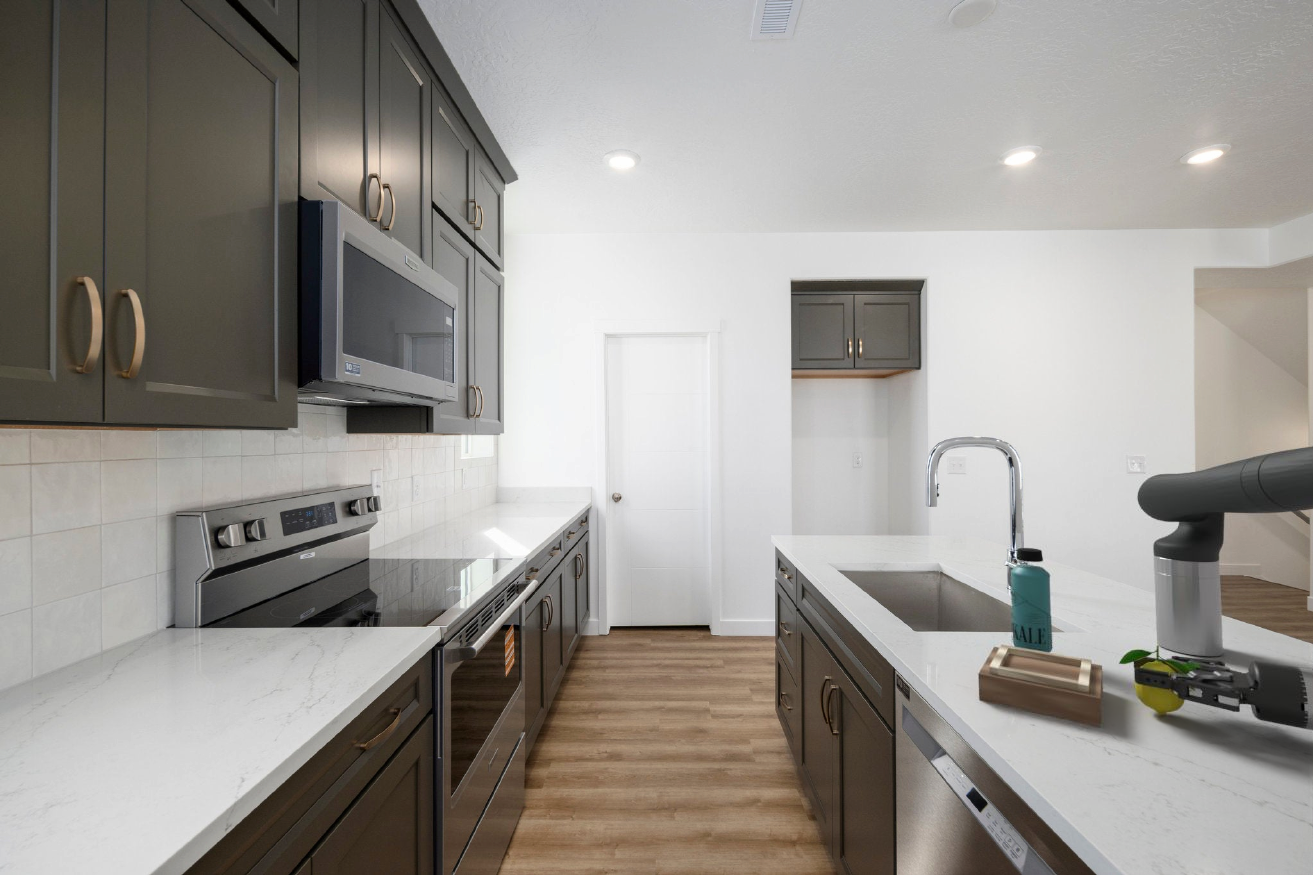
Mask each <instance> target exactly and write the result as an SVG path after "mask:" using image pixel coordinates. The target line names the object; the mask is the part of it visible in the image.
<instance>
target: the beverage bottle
mask: <svg viewBox="0 0 1313 875" xmlns="http://www.w3.org/2000/svg"><path fill="white" fill-rule="evenodd" d="M1016 560H1018V561H1021V562H1029V563H1030V562H1031V563H1040V562H1041V563H1042V562H1044V557H1043V551H1042V549H1040V548H1039V549H1038V548H1033V547H1020V548H1017V550H1016ZM1010 575H1011V577H1010V578H1011V579H1010V580H1011V581H1010V587H1011V588H1010V595H1011V596H1010V600H1011V612H1010V613H1011V631H1012V636H1011V638H1012V640H1011V641H1012V643H1013V647H1019V648H1025V649H1031V650H1037V651H1043V652H1048V653H1052V651H1053V647H1054V646H1053V645H1054V643H1053V642H1054V641H1053V637H1054V636H1053V627H1052V626H1053V625H1052V624H1053V623H1052V609H1051V606H1052V605H1051V574H1050V573H1049V571H1048V570H1046V569H1045V568H1044V567H1042V566H1040V565H1039V566H1038V565H1035V564H1034V565H1031V564H1018V565H1016V566H1015V567H1013V568H1012V569H1011V570H1010Z"/></svg>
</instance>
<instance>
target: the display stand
mask: <svg viewBox="0 0 1313 875" xmlns="http://www.w3.org/2000/svg"><path fill="white" fill-rule="evenodd" d="M977 675H978V677H977V678H978V700H980V701H983V702H986V703H987V702H988V703H992V704H996V705H1001V706H1005V707H1010V708H1013V709H1017V710H1018V709H1019V710H1023V711H1028V712H1032V713H1035V714H1036V713H1037V714H1040V715H1044V716H1049V717H1054V718H1058V719H1062V720H1067V721H1070V722H1071V721H1072V722H1075V723H1081V724H1085V725H1088V726H1092V727H1098V728H1102V720H1103V719H1102V718H1103V717H1102V716H1103V715H1102V714H1103V698H1104V695H1103V694H1104V684H1103V682H1104V681H1103V665H1102V664H1096V663H1092V659H1088V658H1082V657H1077V656H1071V655H1065V654H1059V653H1053V652H1049V653H1048V652H1043V651H1037V650H1031V649H1025V648H1019V647H1015V646H1014V645H1013V646H1012V645H1007V644H1001V645H1000V646H998V647H997V646H993V647H992V649H991V651H990V654H988V657H987V658H986V660H985V662H984V663H983V665H982V666H981V669H980V670H979V672H978V673H977Z"/></svg>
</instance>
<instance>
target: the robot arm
mask: <svg viewBox="0 0 1313 875" xmlns="http://www.w3.org/2000/svg"><path fill="white" fill-rule="evenodd" d="M1136 498H1137V499H1136V500H1137V503H1138V505H1139V507H1140V510H1142V511H1143V512H1144V513H1145V514H1146V515H1147V516H1149V517H1150V518H1152V519H1154V520H1157V521H1160V522H1166V523H1178V526H1177V528H1176V529H1175V530H1174V531H1172V533H1170V534H1168V535H1166V536H1163V537H1161V538H1158V539H1156V540H1155V541H1154V542H1153V545H1152V546H1153V547H1152V548H1153V552H1152V553H1153V570H1154V571H1153V572H1154V592H1155V593H1154V596H1155V599H1154V600H1155V621H1156V622H1155V625H1156V627H1155V628H1156V643H1157V645H1158V646H1160V647H1162V648H1163V649H1166V650H1170V651H1174V652H1175V653H1176V652H1177V653H1180V654H1187V655H1192V656H1193V655H1194V656H1201V657H1220V656H1222V655H1223V654H1224V646H1223V642H1224V641H1223V620H1222V619H1223V618H1222V615H1223V614H1222V613H1223V612H1222V595H1221V594H1222V593H1221V591H1222V590H1221V575H1220V552H1221V549H1222V547H1223V545H1224V541H1225V540H1224V538H1225V536H1224V535H1225V514H1227V513H1228V514H1275V513H1276V514H1277V513H1288V512H1290V513H1291V512H1298V511H1299V512H1301V511H1308V510H1313V445H1312V446H1307V447H1300V448H1299V447H1298V448H1292V449H1287V450H1281V451H1280V450H1279V451H1275V452H1270V453H1265V454H1261V455H1256V456H1253V457H1248V458H1245V459H1239V460H1236V461H1231V462H1228V463H1224V464H1220V465H1216V466H1213V467H1210V468H1206V469H1202V470H1198V471H1197V470H1196V471H1190V472H1183V473H1161V474H1159V473H1158V474H1155V475H1153V476H1150V477H1148V478H1147V479H1146V480H1145V481H1143V483H1141V486H1140V487H1139V489H1138V491H1137V496H1136ZM1163 659H1164V658H1163ZM1163 659H1161V658H1159V661H1161V662H1162V663H1163V664H1166V665H1168V664H1167V663H1166V662H1165V661H1164V660H1163ZM1156 660H1157V657H1151V656H1150V657H1149V656H1147V657H1145V658H1142V659H1139V660H1137V661H1134V662H1133V670H1134V671H1133V672H1134V674H1133V675H1134V677H1133V678H1134V683H1135V682H1136V683H1137V684H1140V685H1146V686H1151V687H1156V688H1162V689H1167V690H1169V689H1171V692H1172V693H1175V694H1178V698H1180V699H1183V700H1185V701H1189V702H1192V703H1197V704H1201V705H1206V706H1209V707H1213V708H1218V709H1222V710H1227V711H1230V712H1232V713H1233V712H1234V713H1239V712H1240V711H1241V710H1240V709H1241V707H1240V706H1241V705H1247V706H1248V705H1249V706H1250V708H1251V712H1252V715H1253V716H1254V717H1255V719H1257V720H1260V721H1262V722H1268V723H1274V724H1277V725H1283V726H1289V727H1293V728H1298V729H1299V728H1300V729H1304V730H1308V731H1313V669H1311V668H1305V667H1299V666H1292V665H1285V664H1280V663H1271V662H1266V661H1260V660H1259V661H1258V660H1252V661H1250V662H1249V664H1248V668H1247V670H1248V671H1247V672H1246V673H1245V672H1241V671H1236V670H1233V669H1231V668H1230V667H1228V666H1226V662H1225V661H1222V660H1213V659H1205V658H1204V659H1203V658H1197V657H1187V656H1179V655H1171V658H1166V660H1171V661H1176V662H1179V663H1181V664H1183V665H1184V666H1185V667H1186V668H1187V669H1189V670H1190V672H1189V673H1188V674H1180V673H1179V672H1177V671H1176V670H1175V669H1174V668H1172V667H1171V666H1170V665H1168V666H1170V667H1171V668H1172V669H1173V670H1174V671H1175V672H1176V673H1170V676H1169V673H1168V672H1163V671H1157V670H1151V669H1145V668H1140V667H1141V666H1143V665H1144V664H1146V663H1150V662H1154V661H1156Z"/></svg>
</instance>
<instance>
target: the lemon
mask: <svg viewBox="0 0 1313 875" xmlns="http://www.w3.org/2000/svg"><path fill="white" fill-rule="evenodd" d="M1159 646H1160V645H1158V644H1157V645H1156V649H1155V651H1148V650H1144V649H1133V650H1129V651H1128V652H1127V653H1125V654H1124V655H1123V656H1122V657H1121V658H1120V661H1119V662H1118V665H1126V664H1131V663H1134V661H1137V660H1139V659H1142V658H1145V657H1149V656H1151V655H1152V654H1155V653H1156V657H1155V658H1157V660H1156V661H1154V662H1150V663H1146V664H1144V665H1143V666H1141V667H1140V668H1145V669H1151V670H1157V671H1163V672H1168V673H1169V676H1170V673H1176V672H1175V671H1174V670H1173V669H1172V668H1174V669H1175V670H1176V671H1177V672H1179V673H1180V674H1188V673H1189V672H1190V670H1189V669H1187V668H1186V667H1185V666H1184V665H1183V664H1181V663H1179V662H1176V661H1171V660H1167V659H1164V658H1163V657H1161V656H1160V653H1159V652H1160V647H1159ZM1159 659H1163V660H1164V661H1165V662H1166V663H1167V664H1168V665H1170V666H1171V667H1172V668H1171V667H1170V666H1168V665H1166V664H1163V663H1162V662H1161V661H1159ZM1134 691H1135V694H1136V696H1137V698H1138V700H1139V701H1140V702H1141V703H1142V704H1143V705H1144V706H1146V707H1148V708H1150V709H1152V710H1154V711H1155V712H1156V713H1157V714H1158V715H1160V716H1165V715H1166V714H1167V713H1171V712H1173V713H1174V712H1176V711H1178V710H1180V709H1181V708H1182V707H1183V706H1184V703H1185V701H1186V700H1183V699H1180V698H1178V694H1175V693H1172V692H1171V689H1169V690H1167V689H1162V688H1156V687H1151V686H1146V685H1140V684H1137V683H1136V682H1135V681H1134Z"/></svg>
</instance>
